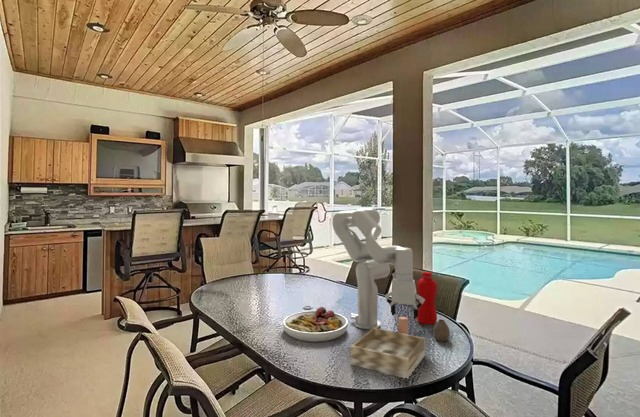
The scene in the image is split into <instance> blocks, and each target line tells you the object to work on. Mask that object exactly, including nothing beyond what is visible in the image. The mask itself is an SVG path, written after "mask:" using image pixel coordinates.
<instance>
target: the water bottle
mask: <svg viewBox="0 0 640 417" xmlns="http://www.w3.org/2000/svg"><path fill="white" fill-rule="evenodd" d="M437 285H438V284H437V282H436V280H434V279H433V277H432V272H431V271H423V272H422V277H421V278H420V279H418V280H417V284H416V291H417V295H419V296H421V297H422V298H424V299H425V301H424V303H423V304H422V306H420V307H419V308H418V312H419V315H418V316H417V318H416V320H417V322H418V323H419V324H422V325H435V324H436V323H437V322H438V317H437V316H438V315H437V309H436V303H435V300H436V296H437V292H438V286H437ZM419 303H420V300H419V299H418V302H417V304H419Z"/></svg>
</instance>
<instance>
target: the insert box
mask: <svg viewBox="0 0 640 417" xmlns="http://www.w3.org/2000/svg"><path fill="white" fill-rule="evenodd" d="M425 356H426V338H425V337H423V336H417V335H412V334H403V333H398V331H392V330H388V329H383V328H372V329H369V330H368V331H367V332H366V333H365V334H364V335H363V336H361V337H360V338H358V340H356V341H355V342H354V343H352V344H351V345H350V365H352V366H355V367H358V368H359V367H360V368H364V369H368V370H371V371H374V370H375V372H378V371H379V373H382V374H387V375H391V376H393V375H394V376H393V377H397V376H398V378H401V377H402V378H401V379H405V378H407V379H406V380H409V378H410V377H411V376H412V374H413V373H414V371H415V370H416V369H415V368H417V367H418V366H419V365H420V363H421V361H422V360H423V359H424V357H425ZM412 372H413V373H412ZM409 376H410V377H409Z"/></svg>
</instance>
